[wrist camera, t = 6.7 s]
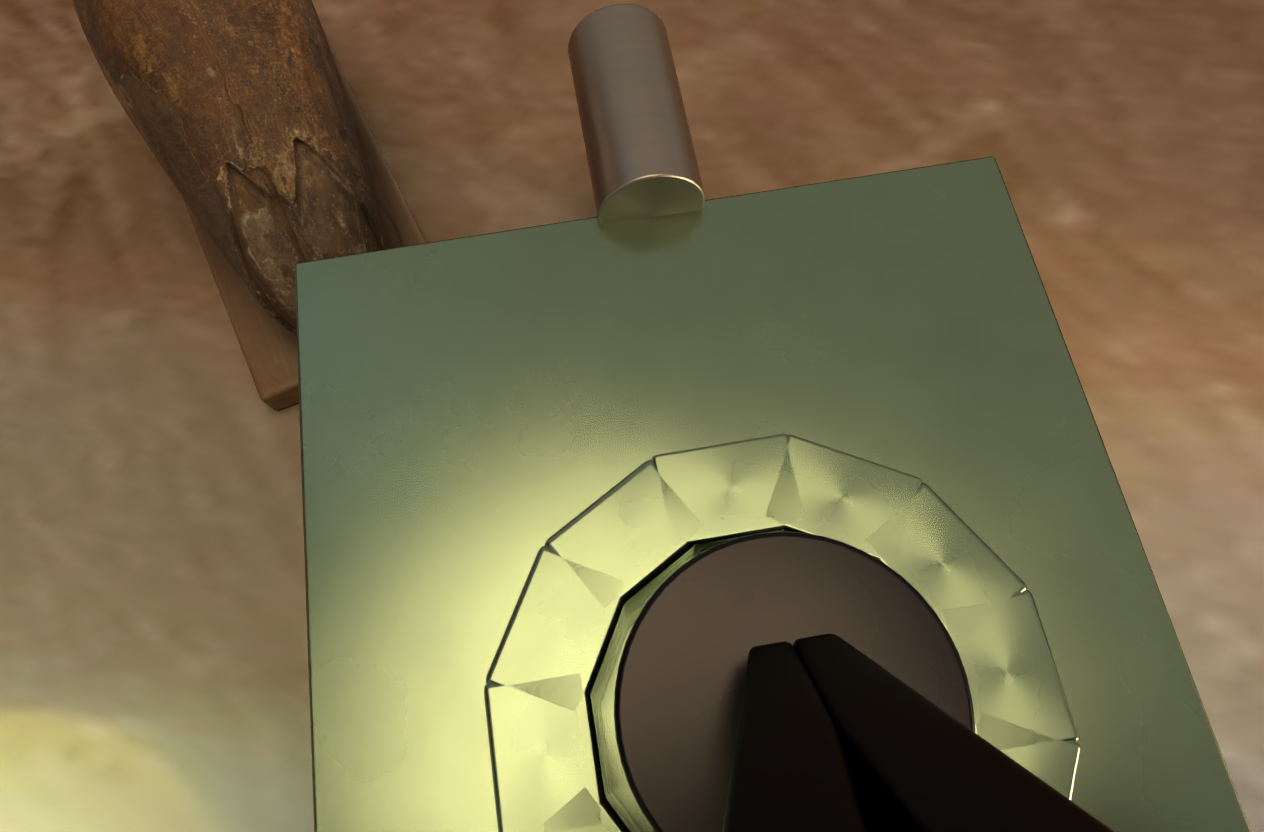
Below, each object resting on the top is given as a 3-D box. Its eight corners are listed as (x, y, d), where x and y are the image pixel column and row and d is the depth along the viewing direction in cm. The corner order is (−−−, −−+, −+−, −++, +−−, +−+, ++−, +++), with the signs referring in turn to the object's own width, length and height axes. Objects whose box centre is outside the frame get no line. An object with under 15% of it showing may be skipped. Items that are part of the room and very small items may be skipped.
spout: (702, 232, 16) (708, 168, 14) (601, 247, 16) (595, 185, 14) (665, 71, 17) (667, -4, 15) (572, 85, 17) (563, 10, 15)
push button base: (1101, 864, 16) (1426, 941, 9) (418, 993, 15) (242, 1171, 9) (917, 291, 20) (1049, 60, 13) (375, 377, 19) (235, 181, 13)
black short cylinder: (948, 849, 11) (1027, 872, 8) (648, 905, 10) (647, 944, 8) (869, 552, 12) (919, 504, 10) (599, 597, 12) (588, 560, 9)
